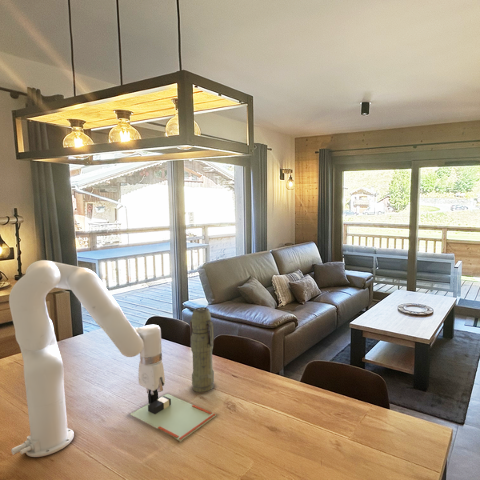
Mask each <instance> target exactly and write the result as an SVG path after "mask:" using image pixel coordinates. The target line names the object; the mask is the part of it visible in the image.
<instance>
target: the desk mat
mask: <svg viewBox="0 0 480 480" xmlns="http://www.w3.org/2000/svg"><path fill="white" fill-rule="evenodd" d="M163 396H165V397H167V398H170V399H171V405H170V406H168V407H167V408H165V409H163V410H161V411H160V412H158V413H157V414H153V413H151V412H149V411H148V405H149V403H147V404H145V405H144V406H142V407H140V408H138V409H137V410H135V411H133V412H131V413H130V416H133V417H134V418H136V419H138V420H140V421H142V422H144V423H146V424H148V425H150V426H152V427H153V428H156V429H157V430H159V431H161V432H163V433H165V434H167V435H169V436H171V437H173V439H175V440H177V441H178V442H182V441H183V440H185V439H186V438H188V437H189V436H190V435H192V434H193V433H194V432H196V431H197V430H198V429H200V428H202V427H203V426H204V425H205V424H207V423H208V422H210V421H211V420H212V419H214V418H216V417H217V414H216V413H213V412H211V411H209V410H208V409H207V410H206V409H205V408H202V407H200V406H198V405H195V404H192V403H190V402H188V401H185V400H183V399H181V398H178V397H177V396H174V395H171V394H169V393H166V394H163V395H162V396H160V397H158V399H159V398H161V397H163Z"/></svg>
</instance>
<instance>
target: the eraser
mask: <svg viewBox="0 0 480 480" xmlns="http://www.w3.org/2000/svg"><path fill="white" fill-rule="evenodd" d="M162 396H163V397H162ZM162 396H160V397H161V398H160V397H158V398H159V399H157V400H156V401H154V402H153V403H151V404H149V403H148V404H149V405H148V411H149V412H151V413H153V414H157V413H158V412H160V411H161V410H163V409H165V408H167V407H168V406H170V405H171V399H170V398H167V397H165V396H164V395H162Z"/></svg>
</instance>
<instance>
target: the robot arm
mask: <svg viewBox="0 0 480 480" xmlns="http://www.w3.org/2000/svg"><path fill="white" fill-rule="evenodd" d="M54 288H56V289H62V290H68V291H69V290H70V291H71V292H72V293H73V295H74V296H75V298H76V299H77V300H78V301H79V302H80V304H81V305H82V306H83V308H85V310H86V311H87V314H89V315H90V317H91V318H92V319H93V320H94V322H95V323H96V324H97V326H98V327H100V328H101V329H102V331H103V332H104V333H105V334H106V335H107V337H108V338H109V339H110V340H111V342H112V344H113V345H114V346H115V347H116V349H118V351H119V352H120V354H121V355H122V356H124V357H126V358H135V357H136V356H138V355H139V364H138V373H137V374H138V377H137V378H138V385H139V386H140V387H143V388H145V390H146V393H147V398H148V399H147V404H151V403H153V402H154V401H156V400H157V399H158V398H159V393H161V392H163V391H164V388H163V387H164V386H165V384H166V377H165V369H164V363H163V349H162V329H161V327H160V326H159V325H157V324H147V325H144V326H141V327H134V326H133V325H132V323H131V322H130V320H129V319H128V317H127V316H126V315H125V313H124V311H123V309H122V308H121V306H120V305H119V303H118V302H117V301H116V299H115V298H114V297H113V295H112V294H111V293H110V291H109V290H108V288H107V287H106V285H105V284H104V283H103V281H102V280H101V278H100V277H99V276H98V274H96V273H95V272H94V271H93V270H92V269H89V268H87V267H83V266H82V267H81V266H77V265H71V264H67V263H62V262H57V261H52V260H46V259H41V260H37V261H34V262H32V263H31V264H29V266H28V267H27V268H26V269H25V274H24V275H23V276H21V277H20V278H19V279H18V280H17V281H15V283H14V284H13V286H12V288H11V291H9V297H8V305H9V310H10V314H11V319H12V323H13V328H14V333H15V334H14V335H15V341H16V343H17V344H18V346H19V350H20V353H21V356H22V357H21V358H22V360H23V378H24V385H25V386H24V387H25V395H26V406H27V413H28V415H27V416H28V425H29V435H28V436H26V440H25V441H23V442H22V443H21V444H19V445H17V446H14V447H13V448H11V451H10V452H11V454H12V456H14V455H16V454H18V453H19V454H20V455H24V454H26V456H28V457H31V458H40V457H41V458H42V457H46V456H50V455H52V454H54V453H57V452H59V451H61V450H62V449H64V448H65V447H67V446H69V444H70V443H71V442H72V441H73V439H74V437H75V433H74V430H73V429H71V428H69V427H68V417H67V406H66V405H67V404H66V393H65V377H64V375H65V374H64V371H65V369H64V362H63V358H62V355H61V353H60V352H61V351H60V349H59V345H58V341H57V337H56V334H55V328H54V324H53V321H52V319H51V318H50V315H49V311H48V306H47V301H46V299H47V298H46V297H47V296H48V294H49V292H51V291H52V290H53V289H54Z"/></svg>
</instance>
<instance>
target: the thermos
mask: <svg viewBox="0 0 480 480" xmlns="http://www.w3.org/2000/svg"><path fill="white" fill-rule="evenodd" d="M214 327H215V325H214V323H213V321H212V314H211V311H210V309H209V307H206V306H199V307H197V308H194V309H193V311H192V314H191V319H190V320H189V333H190V338H189V341H190V350H191V354H192V373H191V384H192V391H193V392H194V393H198V394H202V393H207V392H210V391H211V390H213V389H214V388H215V384H214V383H215V371H214V368H213V350H214V344H215V328H214Z"/></svg>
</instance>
